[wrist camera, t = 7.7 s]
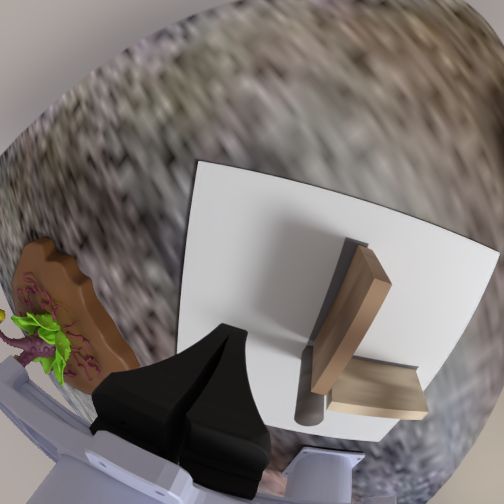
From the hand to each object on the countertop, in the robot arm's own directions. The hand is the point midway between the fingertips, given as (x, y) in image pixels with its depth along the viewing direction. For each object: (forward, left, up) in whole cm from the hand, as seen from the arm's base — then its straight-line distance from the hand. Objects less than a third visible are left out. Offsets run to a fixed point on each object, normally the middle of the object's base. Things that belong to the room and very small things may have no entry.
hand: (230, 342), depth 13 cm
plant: (-13, +21, -8) cm, 26 cm away
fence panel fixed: (-5, -10, -6) cm, 13 cm away
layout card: (-4, -6, -7) cm, 10 cm away
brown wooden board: (+1, -6, -6) cm, 9 cm away
